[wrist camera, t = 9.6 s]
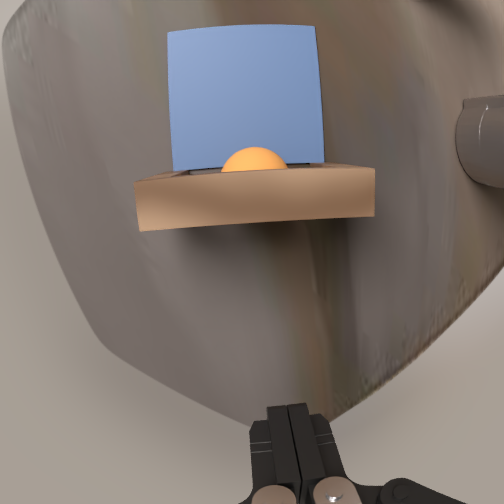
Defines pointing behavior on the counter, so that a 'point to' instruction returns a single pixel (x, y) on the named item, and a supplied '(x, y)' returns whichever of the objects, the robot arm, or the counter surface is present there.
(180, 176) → the bridge
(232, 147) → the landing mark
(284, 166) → the ball
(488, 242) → the counter surface
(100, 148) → the counter surface
